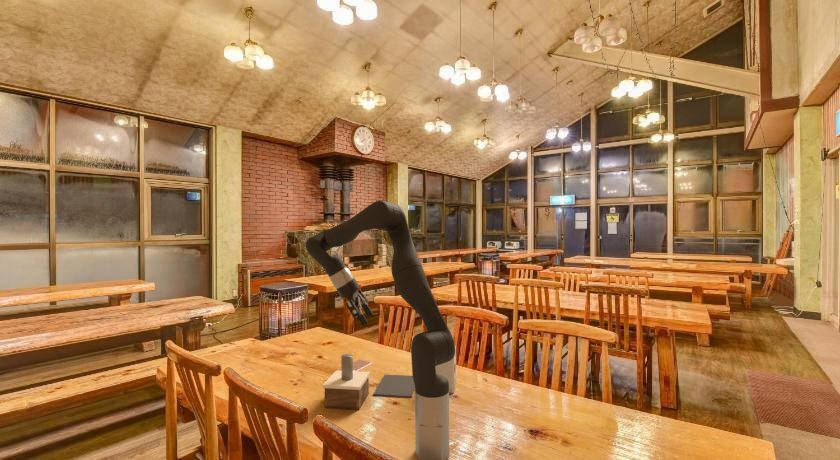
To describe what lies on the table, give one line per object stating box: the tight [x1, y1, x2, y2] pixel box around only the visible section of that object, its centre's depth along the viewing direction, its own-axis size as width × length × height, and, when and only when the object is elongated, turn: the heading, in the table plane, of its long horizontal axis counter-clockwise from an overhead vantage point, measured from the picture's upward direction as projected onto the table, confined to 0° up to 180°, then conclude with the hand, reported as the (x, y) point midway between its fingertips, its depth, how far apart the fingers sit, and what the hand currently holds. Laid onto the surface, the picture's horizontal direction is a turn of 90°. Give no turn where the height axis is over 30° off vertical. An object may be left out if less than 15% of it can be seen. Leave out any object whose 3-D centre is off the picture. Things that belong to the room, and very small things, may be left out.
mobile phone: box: [338, 359, 372, 371], centre depth 166 cm, size 8×1×15 cm
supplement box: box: [436, 345, 457, 394], centre depth 144 cm, size 9×9×15 cm
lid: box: [322, 353, 371, 390], centre depth 134 cm, size 13×13×10 cm
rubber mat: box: [372, 374, 415, 399], centre depth 146 cm, size 18×14×1 cm
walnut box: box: [324, 378, 370, 411], centre depth 134 cm, size 12×12×7 cm
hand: (368, 319), depth 138 cm, fingers open, 8 cm apart
